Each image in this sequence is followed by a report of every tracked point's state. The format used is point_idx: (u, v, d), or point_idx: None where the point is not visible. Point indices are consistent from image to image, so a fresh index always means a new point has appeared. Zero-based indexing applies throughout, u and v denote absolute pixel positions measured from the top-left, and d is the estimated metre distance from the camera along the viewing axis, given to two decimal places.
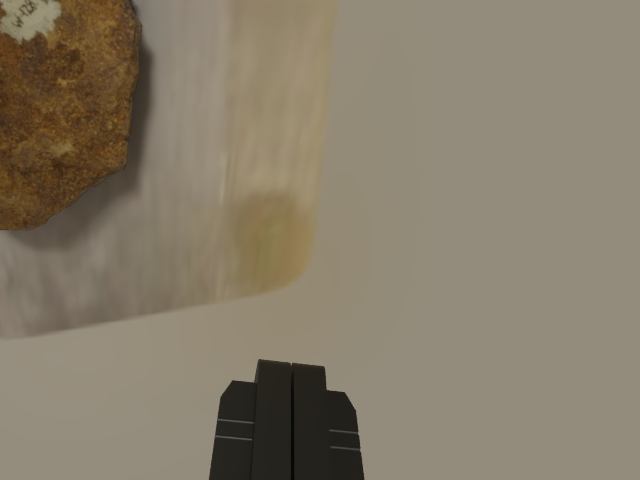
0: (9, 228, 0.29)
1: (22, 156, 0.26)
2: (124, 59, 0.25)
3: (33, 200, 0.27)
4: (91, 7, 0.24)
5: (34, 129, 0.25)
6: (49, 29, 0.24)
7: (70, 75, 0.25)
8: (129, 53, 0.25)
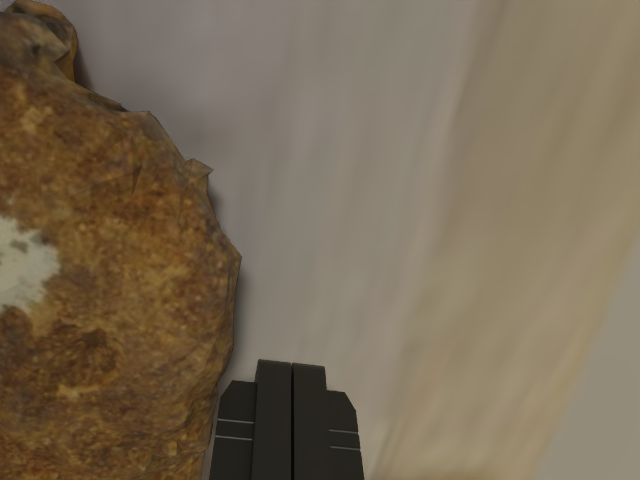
0: None
1: None
2: (205, 336, 0.11)
3: None
4: (131, 243, 0.10)
5: (12, 477, 0.12)
6: (34, 299, 0.10)
7: (86, 377, 0.11)
8: (216, 322, 0.11)
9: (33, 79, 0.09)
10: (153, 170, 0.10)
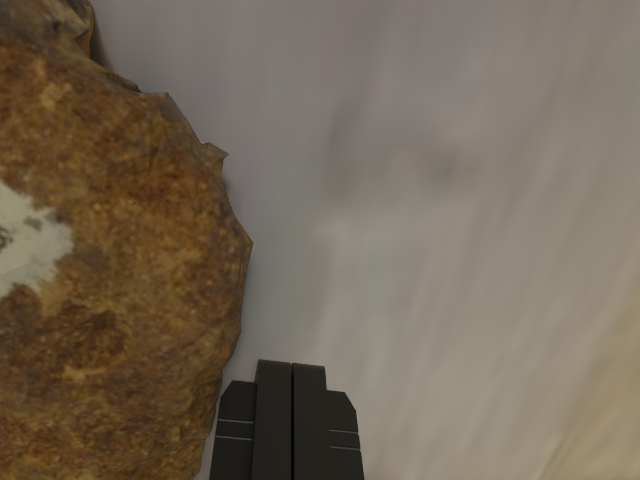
0: None
1: None
2: (214, 321, 0.11)
3: None
4: (145, 225, 0.10)
5: (14, 458, 0.12)
6: (45, 279, 0.10)
7: (93, 358, 0.11)
8: (225, 307, 0.11)
9: (52, 55, 0.09)
10: (169, 152, 0.10)
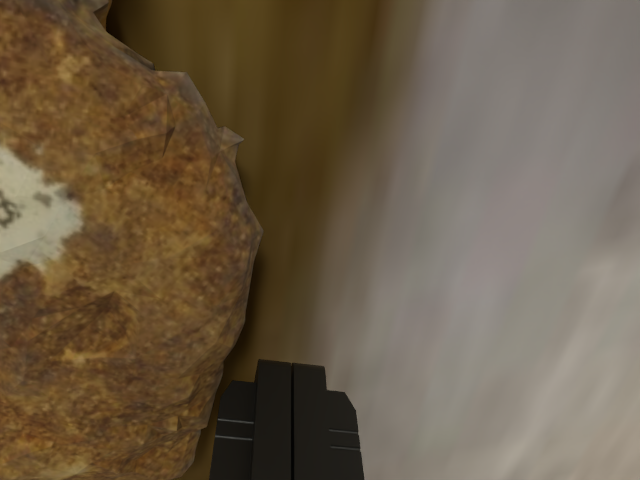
0: None
1: None
2: (221, 309, 0.11)
3: None
4: (156, 206, 0.10)
5: (5, 442, 0.11)
6: (51, 257, 0.10)
7: (94, 342, 0.11)
8: (233, 295, 0.11)
9: (72, 26, 0.09)
10: (186, 133, 0.10)
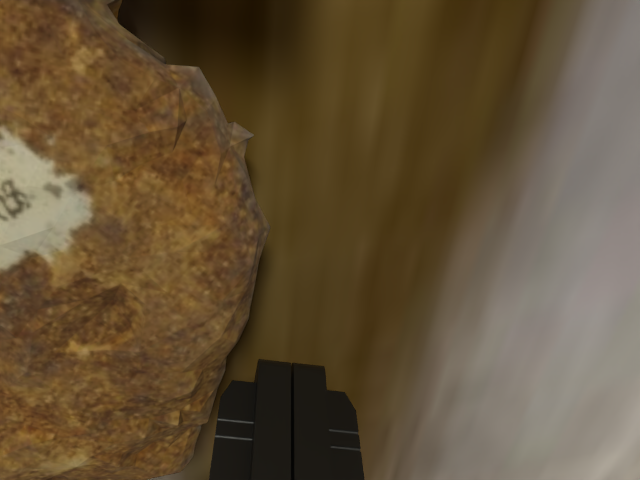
0: None
1: None
2: (226, 304, 0.11)
3: None
4: (165, 200, 0.10)
5: (7, 434, 0.11)
6: (59, 249, 0.10)
7: (99, 335, 0.11)
8: (238, 291, 0.11)
9: (86, 19, 0.09)
10: (196, 127, 0.10)
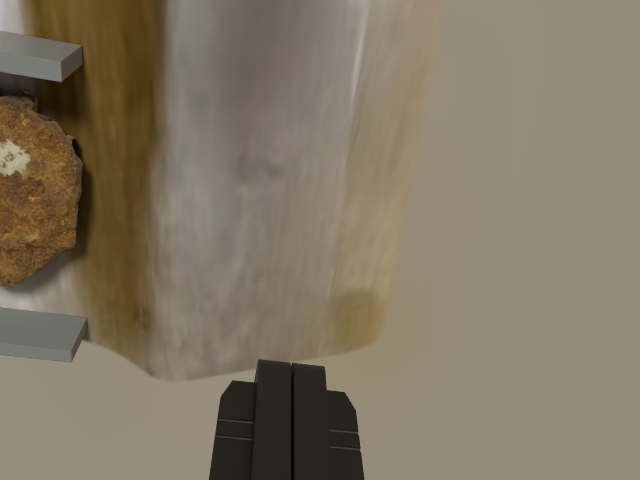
0: None
1: (6, 242, 0.40)
2: (71, 184, 0.39)
3: (14, 268, 0.42)
4: (49, 155, 0.38)
5: (14, 226, 0.40)
6: (23, 169, 0.38)
7: (36, 194, 0.39)
8: (74, 180, 0.39)
9: (25, 112, 0.37)
10: (56, 136, 0.38)
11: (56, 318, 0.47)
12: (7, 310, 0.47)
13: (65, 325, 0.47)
